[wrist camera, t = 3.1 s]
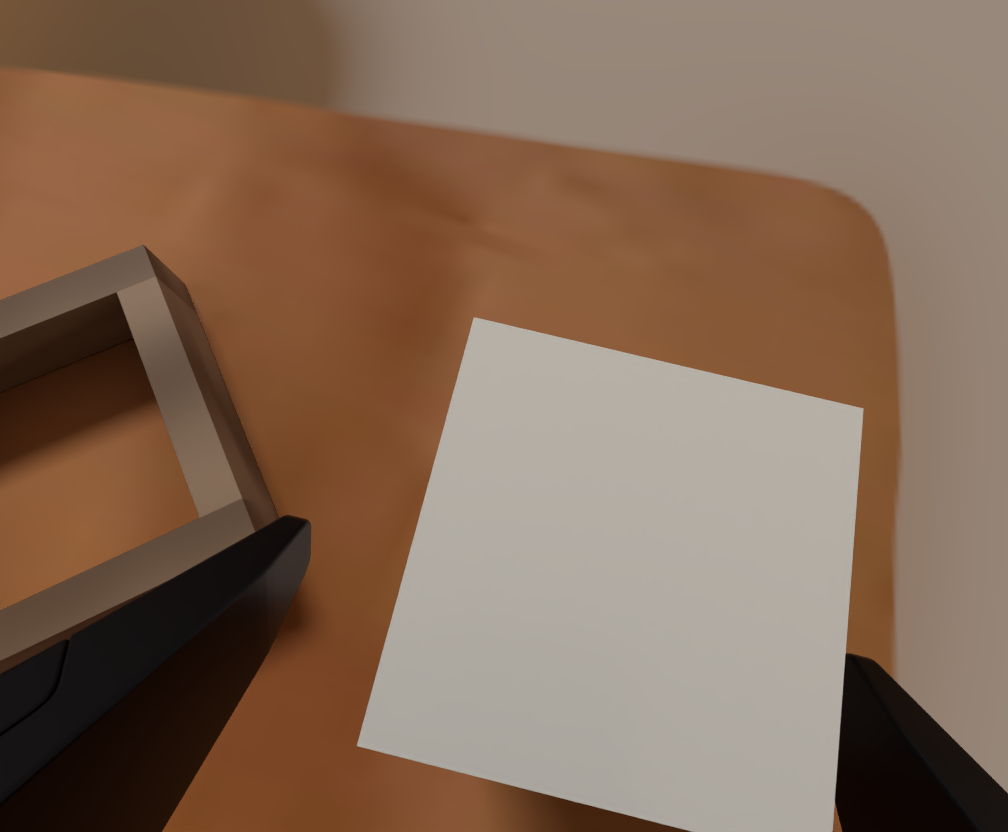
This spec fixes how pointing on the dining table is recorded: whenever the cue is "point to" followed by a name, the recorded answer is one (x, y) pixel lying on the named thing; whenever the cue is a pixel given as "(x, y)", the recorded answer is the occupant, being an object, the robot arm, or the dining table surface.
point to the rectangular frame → (186, 412)
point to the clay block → (628, 589)
